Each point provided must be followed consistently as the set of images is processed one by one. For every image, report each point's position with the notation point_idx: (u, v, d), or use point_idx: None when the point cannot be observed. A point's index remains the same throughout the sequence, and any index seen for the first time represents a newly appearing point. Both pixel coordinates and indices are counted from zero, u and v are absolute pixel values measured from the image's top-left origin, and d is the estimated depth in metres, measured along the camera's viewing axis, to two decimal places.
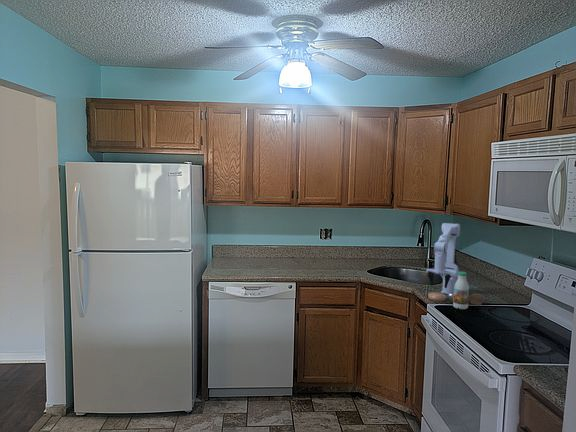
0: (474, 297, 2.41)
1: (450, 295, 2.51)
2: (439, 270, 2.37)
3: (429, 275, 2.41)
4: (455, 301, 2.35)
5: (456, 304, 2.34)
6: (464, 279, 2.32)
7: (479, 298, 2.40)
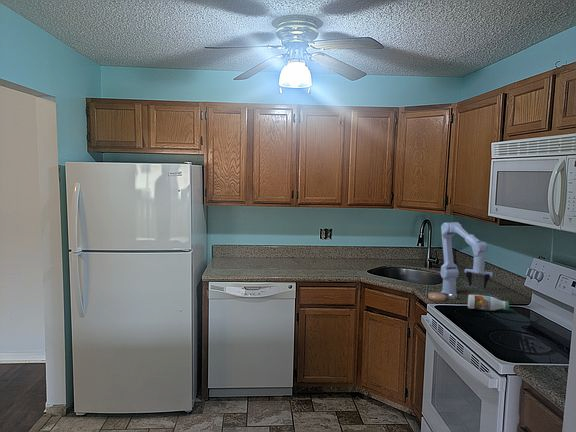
0: None
1: (450, 295, 2.51)
2: (478, 270, 2.39)
3: (468, 275, 2.42)
4: (476, 297, 2.31)
5: (473, 299, 2.30)
6: (501, 307, 2.28)
7: None
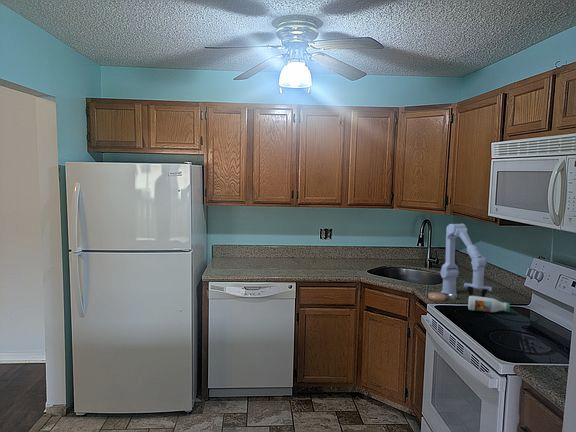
0: None
1: (450, 295, 2.51)
2: (478, 285, 2.40)
3: (469, 290, 2.43)
4: (477, 303, 2.27)
5: (473, 305, 2.28)
6: (501, 310, 2.26)
7: None
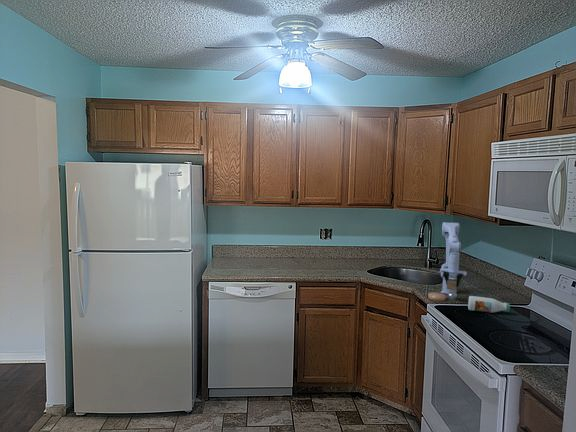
0: (450, 282, 2.46)
1: (450, 295, 2.51)
2: (453, 270, 2.44)
3: (445, 275, 2.47)
4: (477, 304, 2.27)
5: (473, 305, 2.27)
6: (501, 310, 2.26)
7: (454, 283, 2.44)
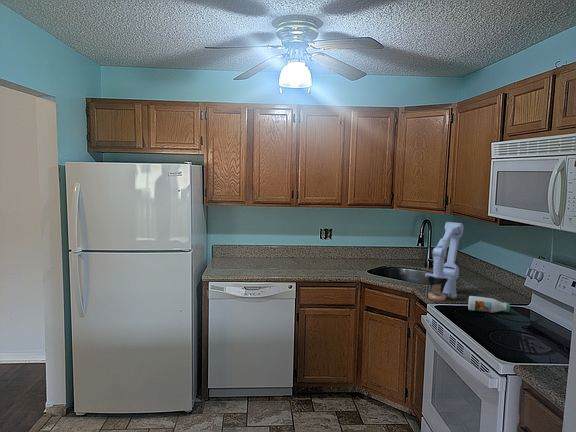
0: (434, 287, 2.49)
1: (450, 295, 2.51)
2: (438, 274, 2.47)
3: (430, 279, 2.50)
4: (477, 304, 2.27)
5: (473, 305, 2.27)
6: (501, 310, 2.26)
7: (439, 288, 2.47)
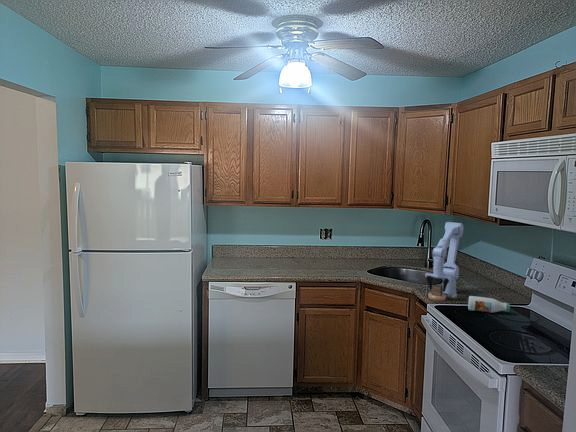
0: (434, 288, 2.49)
1: (450, 295, 2.51)
2: (438, 274, 2.47)
3: (428, 279, 2.51)
4: (477, 304, 2.27)
5: (473, 305, 2.27)
6: (501, 310, 2.26)
7: (439, 289, 2.47)
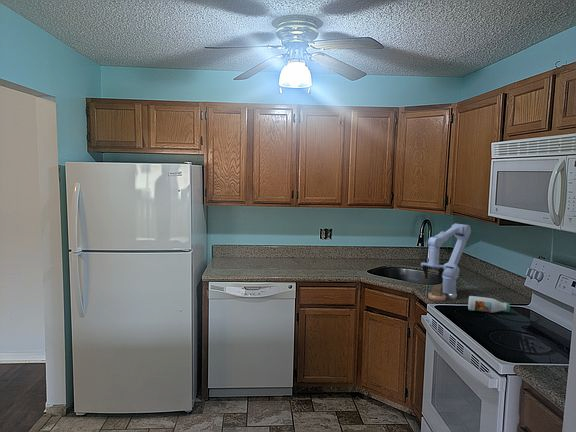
0: (434, 288, 2.49)
1: (450, 295, 2.51)
2: (433, 264, 2.52)
3: (424, 268, 2.56)
4: (477, 304, 2.27)
5: (473, 305, 2.27)
6: (501, 310, 2.26)
7: (439, 289, 2.47)
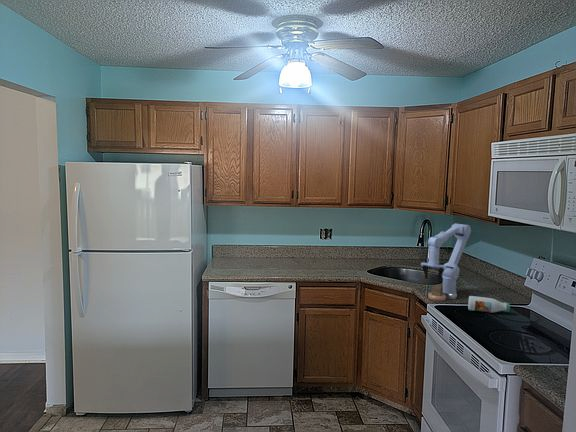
0: (434, 288, 2.49)
1: (450, 295, 2.51)
2: (433, 264, 2.52)
3: (424, 268, 2.56)
4: (477, 304, 2.27)
5: (473, 305, 2.27)
6: (501, 310, 2.26)
7: (439, 289, 2.47)
